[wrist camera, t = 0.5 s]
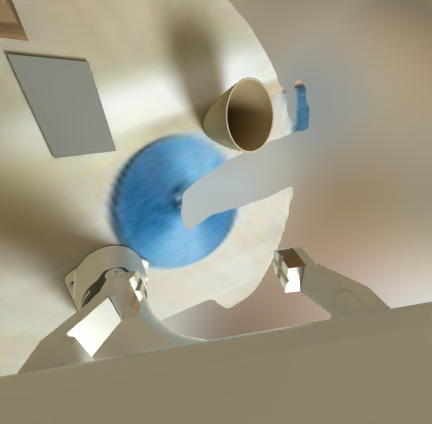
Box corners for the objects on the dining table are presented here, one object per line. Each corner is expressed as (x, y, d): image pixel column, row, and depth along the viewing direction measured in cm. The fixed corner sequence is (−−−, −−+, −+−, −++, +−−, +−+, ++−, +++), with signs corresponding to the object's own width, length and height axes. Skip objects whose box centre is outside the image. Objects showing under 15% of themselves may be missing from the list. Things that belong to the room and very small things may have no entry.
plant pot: (234, 148, 58) (273, 147, 46) (195, 155, 51) (229, 157, 39) (231, 95, 52) (275, 78, 40) (186, 95, 45) (222, 75, 32)
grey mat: (115, 150, 40) (116, 150, 39) (54, 157, 34) (54, 158, 34) (88, 63, 33) (88, 61, 33) (8, 55, 28) (6, 53, 28)
